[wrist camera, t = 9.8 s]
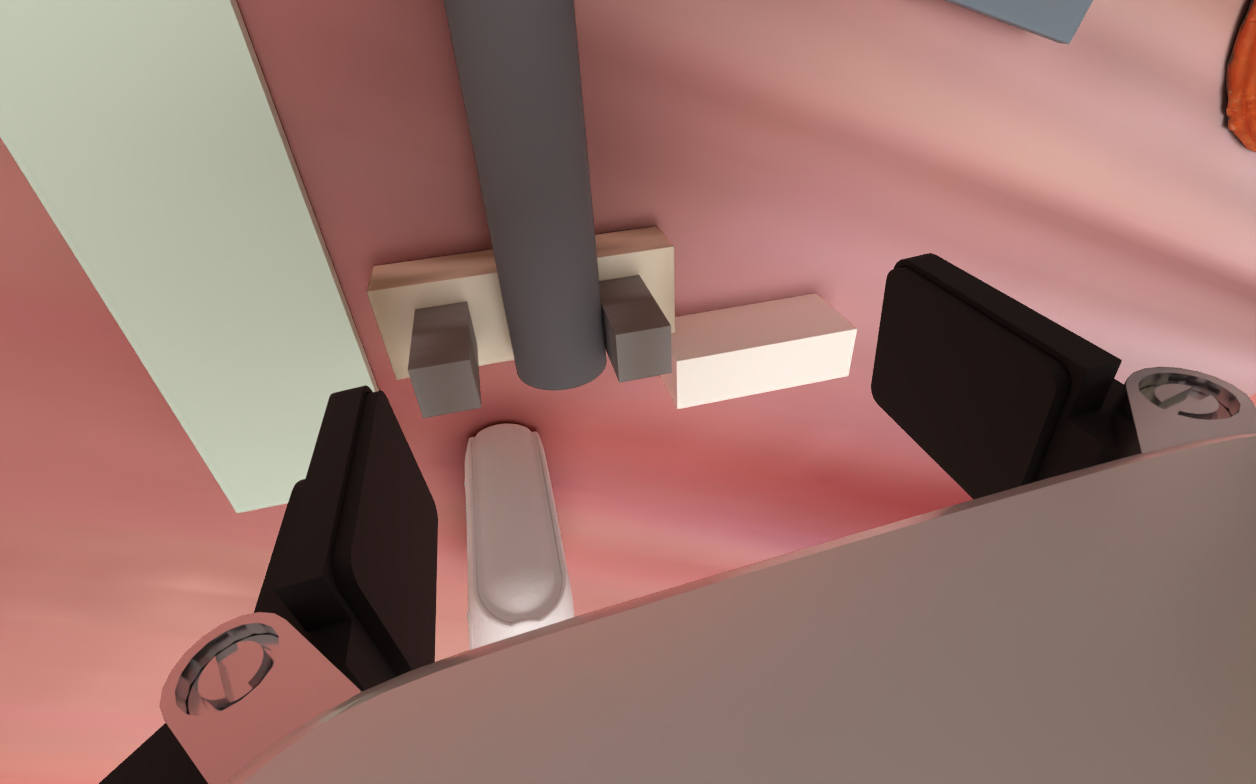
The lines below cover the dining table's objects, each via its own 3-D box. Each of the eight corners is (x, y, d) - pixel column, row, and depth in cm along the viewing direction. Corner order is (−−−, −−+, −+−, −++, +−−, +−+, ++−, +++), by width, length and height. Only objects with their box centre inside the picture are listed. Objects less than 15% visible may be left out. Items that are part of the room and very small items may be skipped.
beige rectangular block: (653, 363, 31) (677, 409, 27) (652, 319, 29) (676, 361, 26) (808, 335, 32) (848, 376, 29) (814, 291, 30) (857, 328, 27)
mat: (240, 504, 29) (236, 513, 29) (-106, -57, 16) (-123, -59, 16) (408, 471, 30) (407, 479, 30) (208, -73, 18) (201, -76, 17)
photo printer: (546, 552, 36) (581, 767, 26) (473, 562, 35) (481, 789, 25) (545, 416, 31) (589, 624, 21) (459, 423, 30) (462, 645, 20)
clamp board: (400, 349, 27) (386, 448, 21) (217, -217, 16) (92, -319, 11) (659, 307, 29) (709, 387, 23) (644, -224, 18) (729, -315, 12)
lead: (576, 332, 26) (624, 366, 24) (501, 361, 24) (544, 402, 22) (509, -215, 16) (579, -254, 14) (376, -227, 15) (429, -273, 12)
